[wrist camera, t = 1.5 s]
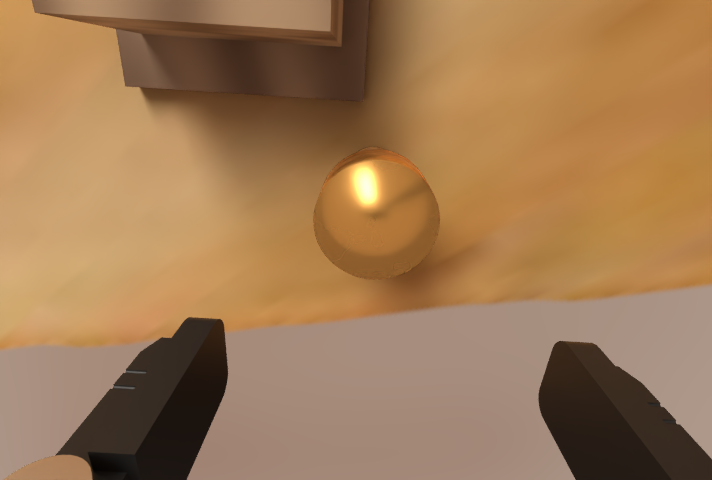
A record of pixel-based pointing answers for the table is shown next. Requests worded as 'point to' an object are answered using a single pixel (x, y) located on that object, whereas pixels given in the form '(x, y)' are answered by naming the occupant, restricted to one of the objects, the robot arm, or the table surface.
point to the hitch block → (235, 44)
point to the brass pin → (376, 215)
